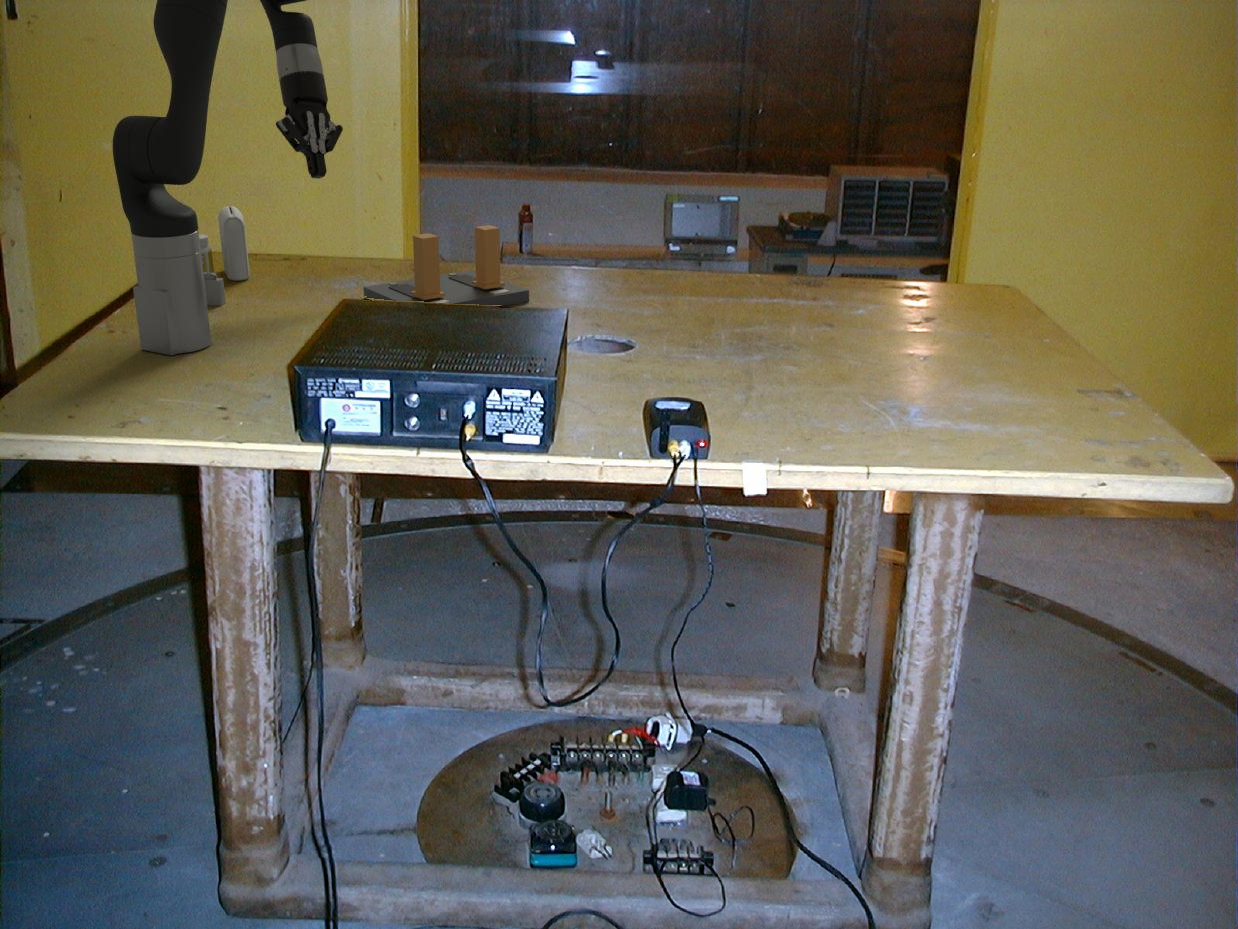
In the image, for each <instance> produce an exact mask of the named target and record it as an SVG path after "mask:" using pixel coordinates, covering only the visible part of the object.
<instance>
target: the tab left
mask: <svg viewBox="0 0 1238 929" xmlns="http://www.w3.org/2000/svg"><path fill="white" fill-rule="evenodd" d="M412 245H413V247H412V249H413V267H414V268H413V269H414V279H415V291H411V295H413V296H415V297H417V298H420V299H422V300H428V299H433V298H439V297H445V293H443V292H441V291H440V275H441V272H440V270H441V269H440V268H441V267H440V246H439V236H438V235H435V234H433V233H427V232H426V233H420V234H413V235H412Z"/></svg>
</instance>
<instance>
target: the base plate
mask: <svg viewBox="0 0 1238 929" xmlns="http://www.w3.org/2000/svg"><path fill="white" fill-rule="evenodd" d="M472 281H476V270H474V269H469V270H463V271H455V272H449V273H443V274H440V291H441V292H443V293H445V297H439V298H433V299H428V300H422V299H420V298H417V297H415V296H413V295H411V291H415V278H412V279H407V280H400V281H399V280H398V281H393V282H392V281H391V282H387V283H380V284H374V285H368V286H367V285H366V286H363V288H362V289H363V297H364V296H367V297H366V298H374V299H384V300H393V301H424V302H435V303H449V304H476V305H477V304H479V305H507V306H512V305H517V304H523V303H528V302H530V289H527V288H524V287H521V286H519V285H516V284H513V283H510V282H508V281H506V280H502V279H500V281H501V282H504V283H505V286H503V287H497V288H491V289H482V288H480V287H477V286H474V285H472Z"/></svg>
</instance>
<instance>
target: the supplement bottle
mask: <svg viewBox="0 0 1238 929" xmlns="http://www.w3.org/2000/svg"><path fill="white" fill-rule="evenodd" d="M199 239H200V247H201V257H202V266H203V273H204V272H210V273H215V267H214V261H213V259H214V258H213V250H212V247H211V246H210V245H209V243H210V242H209V236H208V235H206V234H200V233H199Z"/></svg>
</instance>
